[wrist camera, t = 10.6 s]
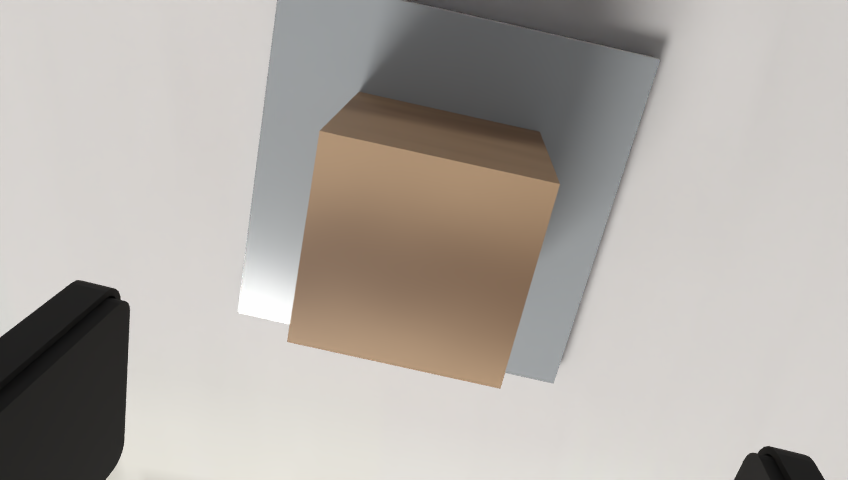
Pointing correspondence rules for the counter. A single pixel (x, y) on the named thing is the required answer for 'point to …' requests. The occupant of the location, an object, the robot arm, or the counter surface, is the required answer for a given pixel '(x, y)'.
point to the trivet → (459, 93)
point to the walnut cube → (421, 238)
